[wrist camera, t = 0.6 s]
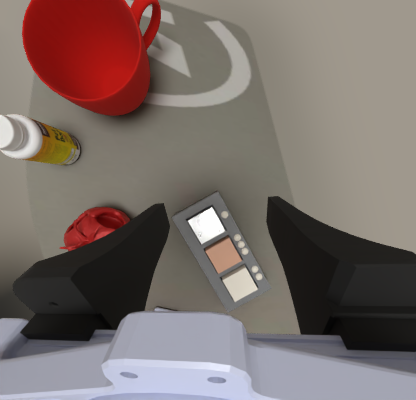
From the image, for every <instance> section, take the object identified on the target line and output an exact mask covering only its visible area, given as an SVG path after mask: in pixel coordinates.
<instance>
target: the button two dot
mask: <svg viewBox="0 0 416 400" xmlns="http://www.w3.org/2000/svg"><path fill="white" fill-rule="evenodd" d="M221 277H222V281H223V282H224V284H225V286H226V288H227V289H228V291H229V293H230V294H231V296H232V298H233V300H234V301H235V302H236V301H238V300H240V299H241V298H243V297H245V296H247V295H249V294H250V293H252V292H254V291H256V290H258V288H257V287H256V285H255V283H254V281H253V279H252V278H251V276H250V274H249V272H248V270H247V269H246V267H245V265H244V264H243V265H241V266H239V267H237V268H236V269H234V270H232V271H230V272H228V273H227V274H225V275H223V276H221Z"/></svg>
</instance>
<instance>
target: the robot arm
mask: <svg viewBox="0 0 416 400" xmlns="http://www.w3.org/2000/svg"><path fill="white" fill-rule="evenodd" d="M266 222H267V226H268V230H269V234H270V236H271V239H272V241H273V244H274V246H275V249H276V251H277V253H278V256H279V258H280V261H281V263H282V266H283V268H284V272H285V275H286V278H287V282H288V285H289V289H290V293H291V296H292V300H293V304H294V308H295V312H296V315H297V319H298V324H299V328H300V332H301V335H296V334H255V333H246V329H245V328H244V326H243V324H242V322H240V321H239V320H238V319H236V318H234V317H232V316H230V315H228V314H224V313H218V312H196V311H172V310H168V309H164V308H159V307H156V308H155V310H154V311H144V310H145V306H146V301H147V297H148V293H149V289H150V285H151V281H152V278H153V274H154V271H155V268H156V265H157V263H158V260H159V258H160V255H161V253H162V250H163V248H164V245H165V243H166V240H167V237H168V233H169V229H170V224H169V221H168V217H167V213H166V210H165V206H164V203H162V204H154V205H153V206H151V207H150V208H148V209H147V210H145V211H144V212H142V213H141V214H140V215H138V216H137V217H135V218H134V219H132V220H131V221H129V222H128V223H126V224H125V225H123V226H122V227H120V228H118V229H117V230H115V231H113V232H111V233H109V234H107V235H106V236H104V237H102V238H99V239H97V240H95V241H93V242H91V243H89V244H86V245H84V246H82V247H79V248H77V249H74V250H71V251H69V252H66V253H63V254H60V255H57V256H54V257H51V258H48V259H45V260H42V261H38V262H37V263H35V264H34V265H33V266H32V267H31V268H29V269H28V270H27V271H26V272H25V273H24V274H22V275H21V276H20V277H19V278H18V279H17V280H16V281H15V282H14V283H13V291H14V293H15V295H16V296H17V297H18V298H19V299H20V300H21V301H22V302H23V303H24V304H25V305H26V306H28V307H29V308H30V309H31V310H32V311H33V312H34V313H36V314H35V315H34V317H33V318H32V319H31V320H30V321H29V320H26V319H21V318H19V319H18V318H2V319H0V400H416V254H414V253H413V252H410V251H407V250H403V249H399V248H394V247H391V246H386V245H383V244H379V243H376V242H372V241H369V240H366V239H363V238H359V237H356V236H354V235H350V234H348V233H346V232H343V231H340V230H338V229H335V228H333V227H331V226H328V225H326V224H324V223H322V222H320V221H318V220H316V219H314V218H312V217H310V216H309V215H307V214H305V213H303V212H302V211H300V210H298V209H297V208H295V207H294V206H292V205H291V204H289V203H288V202H286V201H285V200H283V199H282V198H280V197H278V196H274V197H268V207H267V221H266Z"/></svg>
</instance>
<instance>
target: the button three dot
mask: <svg viewBox="0 0 416 400" xmlns="http://www.w3.org/2000/svg"><path fill="white" fill-rule="evenodd" d="M205 251H206V253H207V255H208V257H209V258H210V260H211V262H212V264H213V265H214V267H215V269H216V270H217V272H218V274H219V273H221V272H223V271H224V270H226V269H228V268H230V267H232V266H233V265H235V264H237V263H239V262H241V261H242V260H241V258H240V256H239V254H238V253H237V251H236V249H235V247H234V245H233V244H232V242H231V240H230V238H229V237H228V235H227V236H225V237H223V238H222V239H220V240H218V241H216V242H214V243H213V244H211V245H209V246H207V247H205Z"/></svg>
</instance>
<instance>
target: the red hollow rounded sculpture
mask: <svg viewBox="0 0 416 400" xmlns="http://www.w3.org/2000/svg"><path fill="white" fill-rule="evenodd" d="M129 221H131V220H130V219H129V218H128V217H127V215H126V214H125V213H123V212H122V211H120V210H117V209H114V208H108V207H95V208H91V209H88V210H86V211H85V212H84V213H82V214H81V215H80V216H79V217H78V219H76V220H75V221H74V222H73V224H72V225H71V226H70V227H69V228H68V229H67V231H66V233H65V235H64V243H65V245H66V247H60V248H59V249H68V251H71V250H74V249H77V248H79V247H82V246H84V245H86V244H89V243H91V242H93V241H95V240H97V239H99V238H102V237H104V236H106V235H107V234H109V233H111V232H113V231H115V230H117V229H118V228H120V227H122V226H123V225H125V224H126V223H128V222H129Z"/></svg>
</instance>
